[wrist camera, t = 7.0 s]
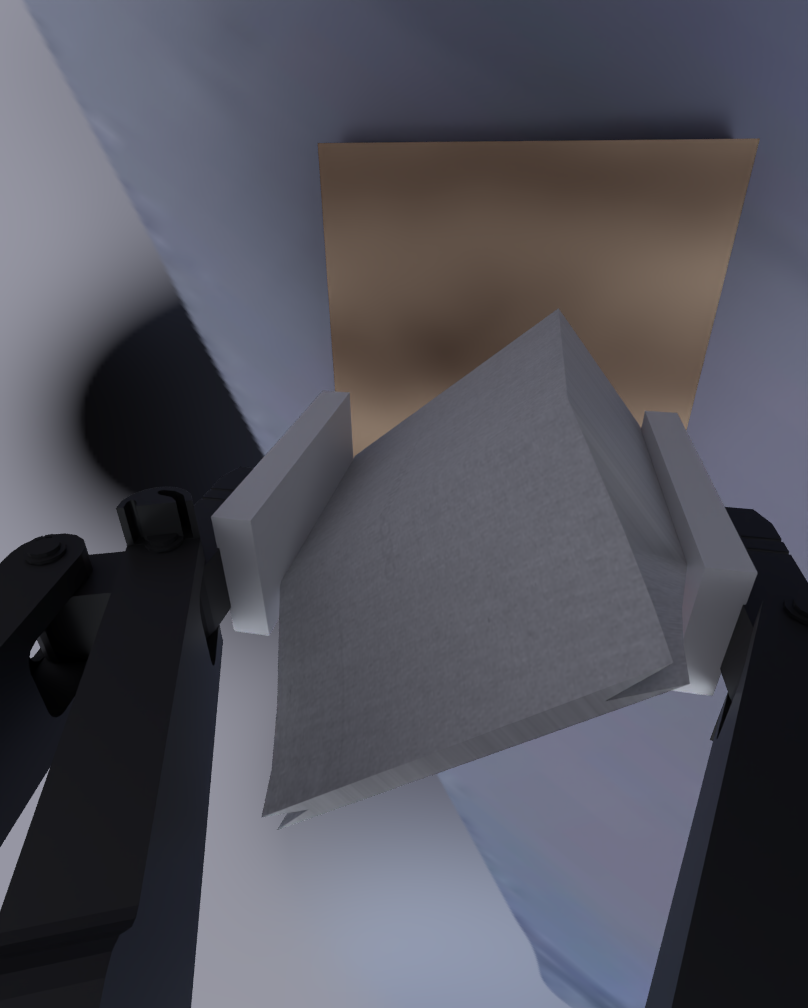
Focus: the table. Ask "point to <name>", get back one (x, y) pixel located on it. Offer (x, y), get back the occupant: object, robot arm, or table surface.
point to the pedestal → (524, 261)
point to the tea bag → (477, 583)
